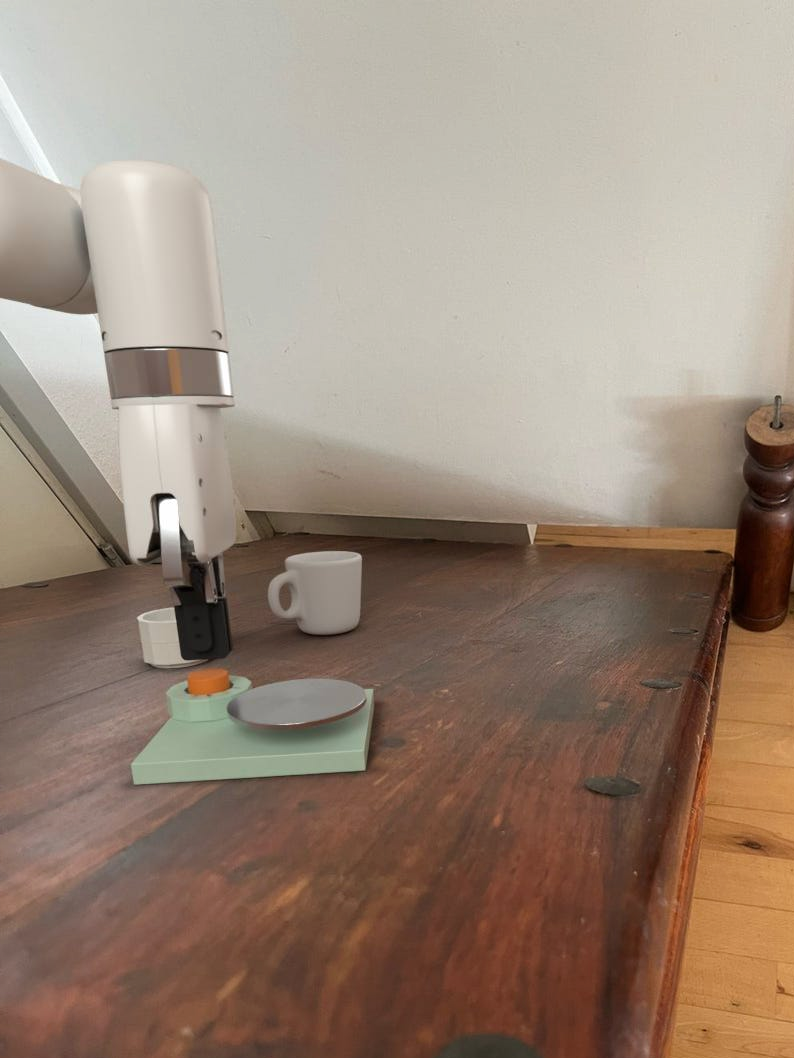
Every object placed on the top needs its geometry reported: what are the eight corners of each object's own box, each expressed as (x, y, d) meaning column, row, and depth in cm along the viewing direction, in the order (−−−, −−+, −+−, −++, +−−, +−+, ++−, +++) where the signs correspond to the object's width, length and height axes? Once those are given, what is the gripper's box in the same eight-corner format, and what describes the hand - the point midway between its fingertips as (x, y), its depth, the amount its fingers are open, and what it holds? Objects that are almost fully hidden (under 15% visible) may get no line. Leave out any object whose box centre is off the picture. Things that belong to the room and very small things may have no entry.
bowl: (133, 672, 70) (126, 624, 69) (156, 652, 76) (150, 607, 75) (207, 668, 70) (201, 620, 69) (225, 648, 77) (219, 604, 76)
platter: (211, 734, 46) (211, 728, 46) (243, 687, 55) (242, 682, 55) (362, 725, 47) (361, 719, 47) (369, 680, 56) (369, 675, 56)
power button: (184, 699, 54) (181, 680, 54) (195, 686, 57) (192, 669, 56) (225, 697, 54) (222, 678, 54) (233, 684, 57) (231, 667, 57)
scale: (127, 785, 47) (120, 739, 46) (185, 714, 59) (179, 677, 58) (365, 771, 48) (362, 725, 47) (374, 704, 60) (372, 667, 59)
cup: (297, 650, 76) (289, 569, 73) (253, 637, 81) (245, 562, 79) (381, 628, 83) (377, 554, 81) (336, 618, 88) (331, 548, 86)
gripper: (150, 393, 57) (183, 633, 62) (61, 378, 42) (114, 693, 47) (253, 389, 57) (278, 628, 62) (201, 374, 43) (239, 686, 48)
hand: (207, 655), depth 55 cm, fingers closed
